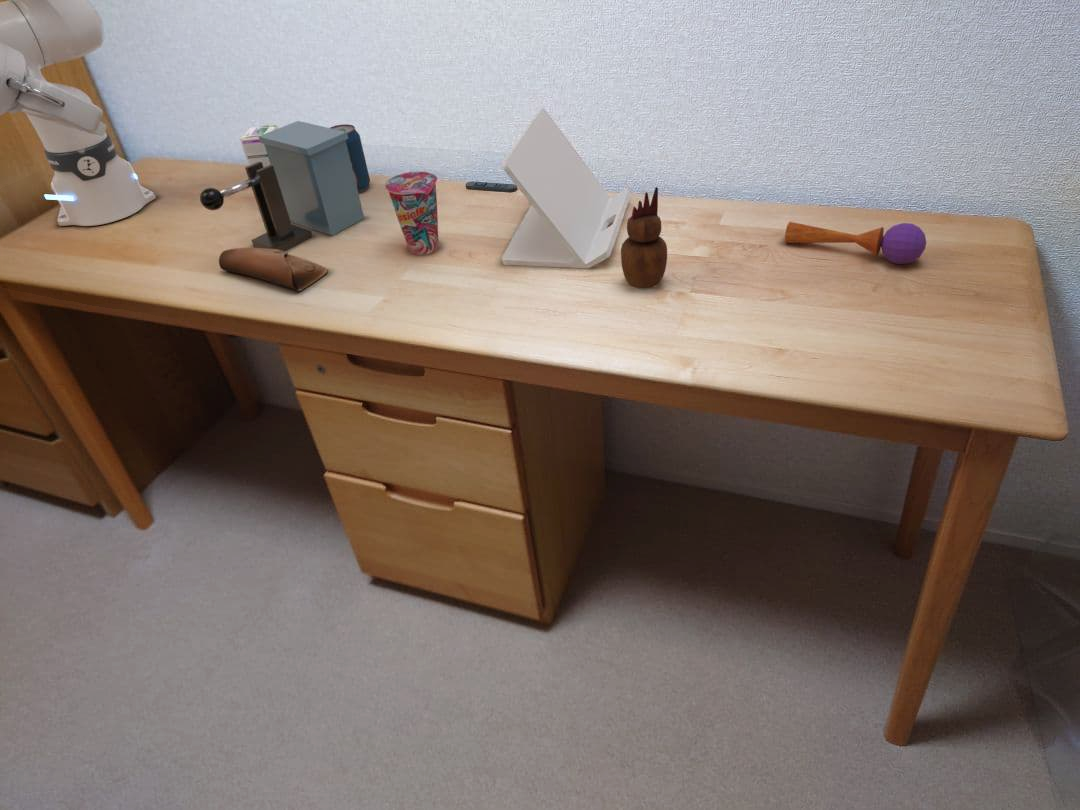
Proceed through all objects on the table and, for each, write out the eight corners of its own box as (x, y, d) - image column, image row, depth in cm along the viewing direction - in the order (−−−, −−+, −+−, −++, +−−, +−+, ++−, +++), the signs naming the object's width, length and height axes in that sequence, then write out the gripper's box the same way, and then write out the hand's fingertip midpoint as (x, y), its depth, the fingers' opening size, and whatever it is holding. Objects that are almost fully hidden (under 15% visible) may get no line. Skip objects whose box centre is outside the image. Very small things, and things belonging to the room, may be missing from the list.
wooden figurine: (665, 273, 118) (668, 180, 108) (666, 292, 113) (669, 197, 104) (621, 274, 119) (620, 182, 109) (621, 293, 114) (619, 199, 105)
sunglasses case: (331, 267, 127) (308, 245, 121) (312, 303, 126) (287, 283, 120) (257, 249, 135) (231, 227, 129) (238, 282, 134) (211, 262, 128)
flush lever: (212, 215, 124) (204, 194, 122) (200, 211, 126) (192, 190, 124) (276, 187, 131) (270, 167, 129) (264, 183, 133) (258, 163, 131)
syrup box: (292, 208, 149) (269, 134, 140) (262, 210, 150) (238, 137, 141) (299, 196, 154) (278, 124, 145) (271, 198, 154) (248, 126, 145)
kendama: (795, 209, 122) (932, 220, 112) (792, 245, 125) (925, 260, 115) (784, 217, 118) (925, 230, 108) (780, 255, 121) (918, 271, 111)
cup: (389, 255, 130) (374, 188, 123) (418, 233, 136) (405, 168, 128) (434, 264, 126) (421, 195, 119) (461, 241, 132) (451, 174, 125)
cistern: (331, 237, 138) (306, 148, 128) (284, 221, 145) (258, 136, 135) (367, 218, 143) (346, 131, 133) (321, 203, 150) (298, 120, 140)
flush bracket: (276, 255, 134) (251, 178, 125) (253, 246, 138) (227, 171, 129) (312, 236, 139) (290, 161, 130) (289, 228, 142) (266, 154, 133)
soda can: (360, 179, 158) (347, 120, 151) (377, 187, 154) (364, 128, 146) (331, 189, 155) (315, 130, 148) (347, 198, 151) (332, 138, 143)
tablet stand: (501, 264, 124) (488, 163, 114) (536, 199, 143) (528, 107, 132) (610, 269, 120) (608, 164, 110) (632, 201, 139) (632, 106, 128)
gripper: (37, 62, 91) (146, 119, 103) (-30, 46, 102) (75, 99, 113) (18, 111, 91) (129, 162, 103) (-47, 91, 102) (60, 139, 114)
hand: (100, 129), depth 108 cm, fingers closed
